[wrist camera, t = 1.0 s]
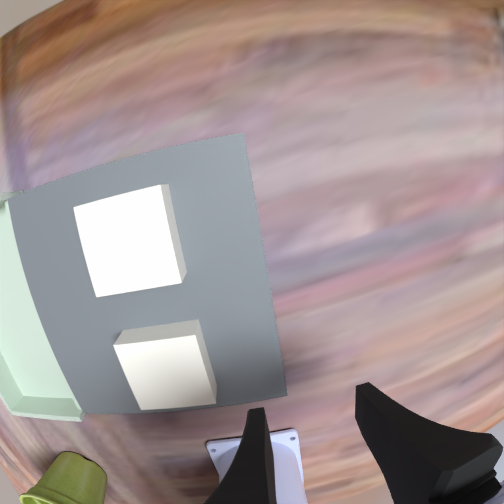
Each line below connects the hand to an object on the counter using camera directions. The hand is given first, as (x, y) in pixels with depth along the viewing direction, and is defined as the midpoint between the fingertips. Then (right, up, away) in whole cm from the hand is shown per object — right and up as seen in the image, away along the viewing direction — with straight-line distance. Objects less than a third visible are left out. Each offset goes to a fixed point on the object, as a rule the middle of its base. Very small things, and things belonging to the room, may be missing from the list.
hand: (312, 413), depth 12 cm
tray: (-22, +2, +8) cm, 24 cm away
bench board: (-10, +4, +8) cm, 13 cm away
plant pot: (-22, -17, +12) cm, 30 cm away
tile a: (-8, 0, +7) cm, 10 cm away
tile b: (-9, +8, +5) cm, 13 cm away
